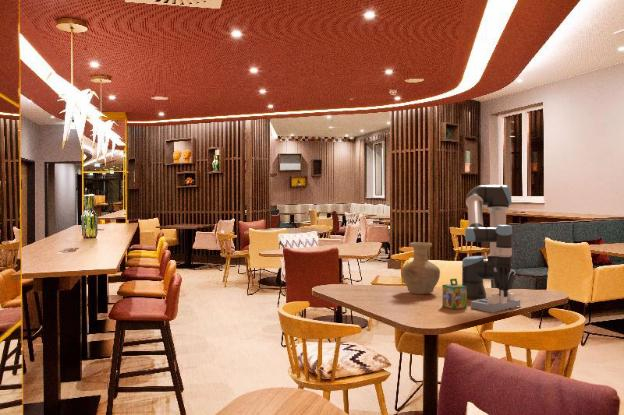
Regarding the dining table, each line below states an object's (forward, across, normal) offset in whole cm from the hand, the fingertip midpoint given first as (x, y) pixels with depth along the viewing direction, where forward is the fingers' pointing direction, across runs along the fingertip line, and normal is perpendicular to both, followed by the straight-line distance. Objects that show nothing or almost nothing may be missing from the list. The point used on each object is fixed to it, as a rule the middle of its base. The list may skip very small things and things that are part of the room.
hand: (503, 303), depth 264 cm
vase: (+5, -59, +5) cm, 60 cm away
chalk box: (+5, -22, -10) cm, 25 cm away
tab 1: (+3, -6, 0) cm, 6 cm away
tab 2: (+3, -6, +7) cm, 9 cm away
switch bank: (+5, -9, +7) cm, 12 cm away
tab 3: (+3, -6, +14) cm, 15 cm away
